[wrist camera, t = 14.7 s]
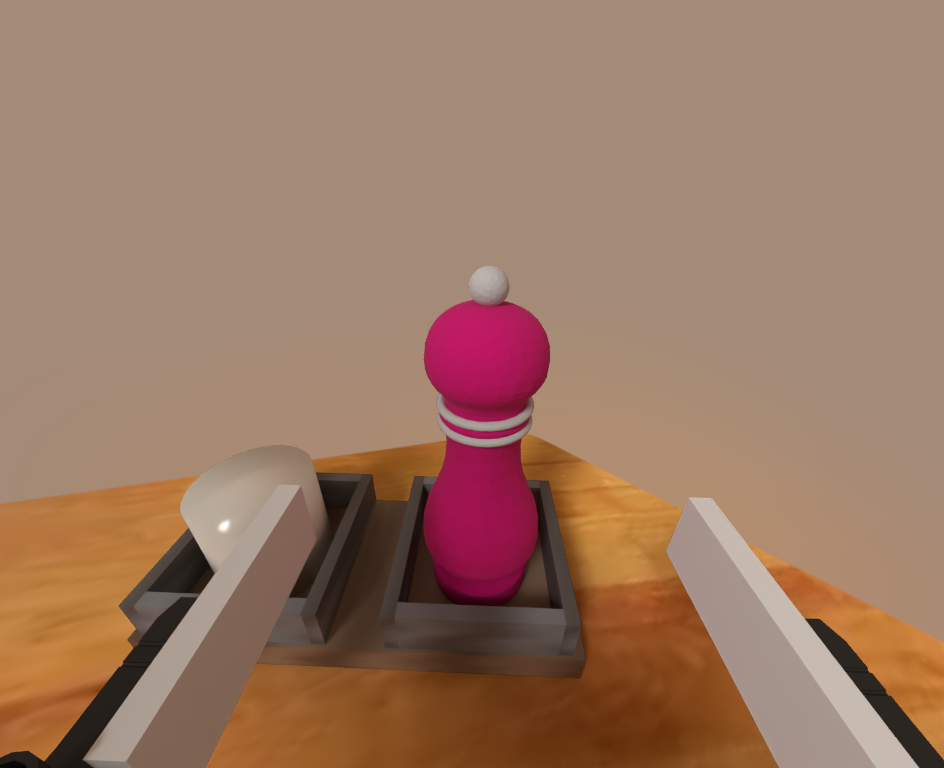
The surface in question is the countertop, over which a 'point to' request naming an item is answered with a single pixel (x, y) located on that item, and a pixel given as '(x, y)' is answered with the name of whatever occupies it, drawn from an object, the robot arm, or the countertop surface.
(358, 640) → the two-compartment tray
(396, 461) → the countertop surface
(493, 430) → the pepper mill
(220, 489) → the white glossy dome
